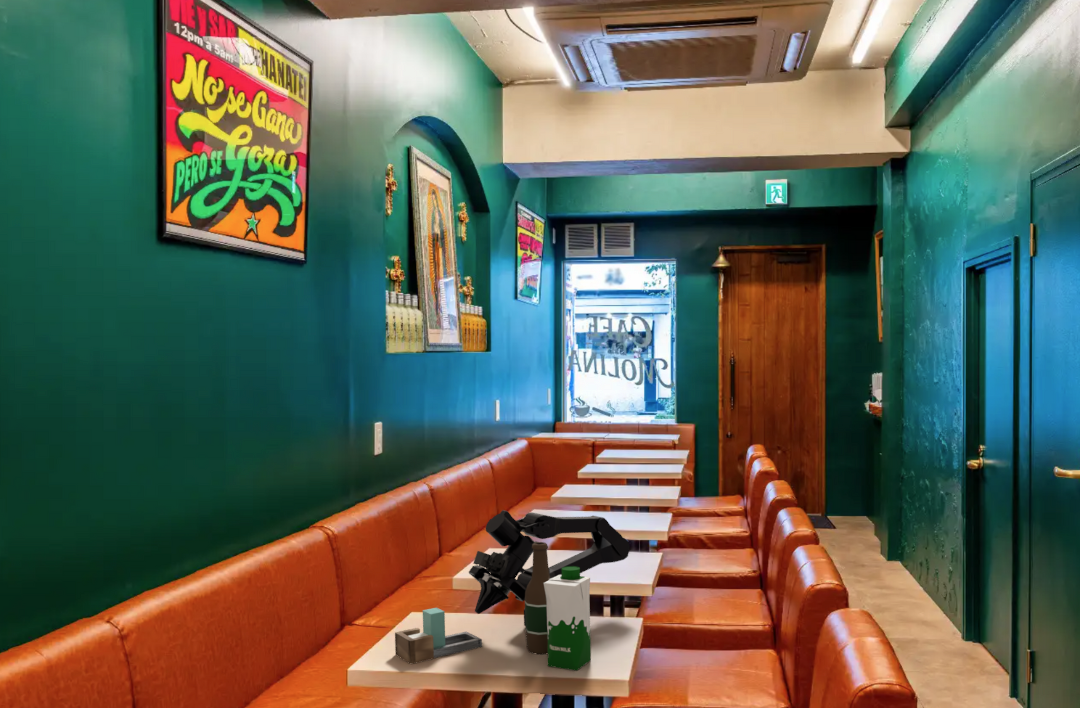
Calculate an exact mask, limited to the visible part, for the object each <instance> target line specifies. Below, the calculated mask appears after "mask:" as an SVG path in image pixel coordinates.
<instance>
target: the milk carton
mask: <svg viewBox="0 0 1080 708" xmlns="http://www.w3.org/2000/svg"><path fill="white" fill-rule="evenodd" d="M590 587H591V577H587V576H582V575H581V573H580V568H579V567H576V566H567V567H563V568H562V575H558V576H556V577H554V578H551V579H549V580H548V581H547V582H545V583H544V588H545V594H546V600H547V634H548V654H547V667H551V668H557V669H562V670H563V669H564V670H569V671H570V670H571V671H579V670H580V669H582V667H584V666H585V665H586V664H588V663H589V662H591V659H592V658H591V653H592V652H591V649H592V647H591V646H592V642H591V641H592V640H591V639H592V638H591V612H590V611H591V609H590V593H591V592H590Z"/></svg>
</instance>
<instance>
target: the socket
mask: <svg viewBox="0 0 1080 708" xmlns="http://www.w3.org/2000/svg"><path fill="white" fill-rule="evenodd" d="M418 633H421V629H420V628H419V627H415V628H410V629H405V630H400V631H394V645H395V655H396V656H397V655H398V656H399V658H400V657H401V658H400V659H402V660H403V659H404V661H405V662H407V663H408V662H409V663H408V664H410V663H413V664H417V663H421V661H422V662H426V661H429V660H433V659H435V658H434V650H433V636H432V635H427V636H423V637H418V638H413V639H412V638H411V637H409V635H413V634H418ZM398 656H397V657H398ZM416 662H417V663H416Z"/></svg>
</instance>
